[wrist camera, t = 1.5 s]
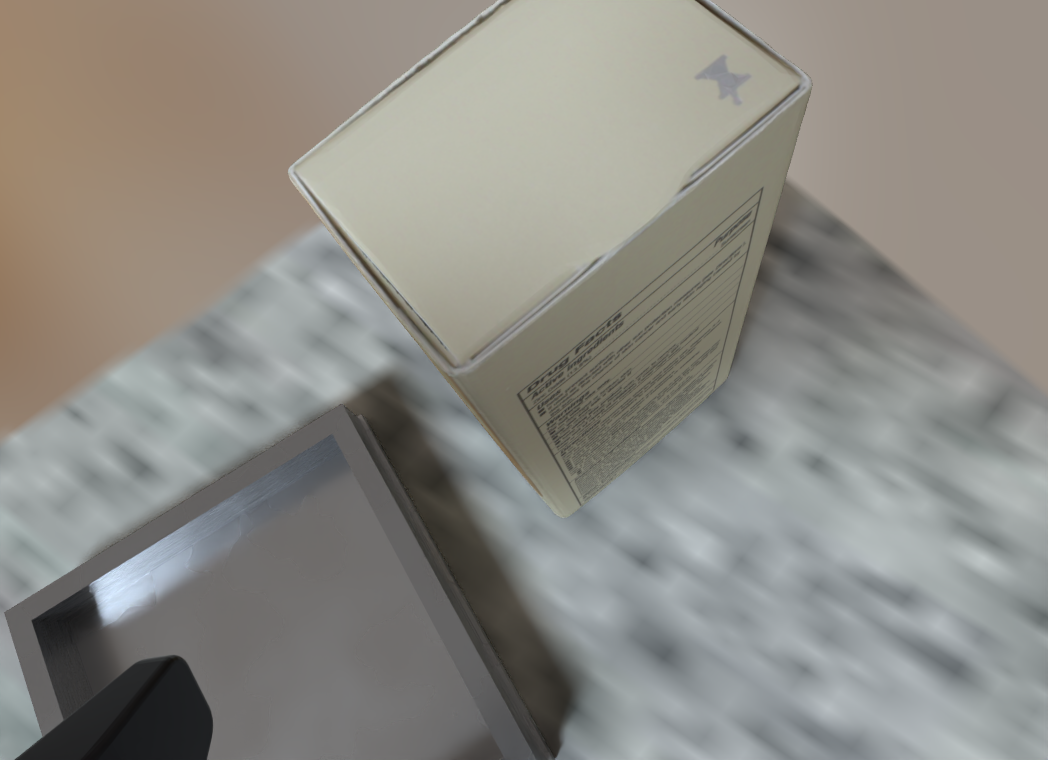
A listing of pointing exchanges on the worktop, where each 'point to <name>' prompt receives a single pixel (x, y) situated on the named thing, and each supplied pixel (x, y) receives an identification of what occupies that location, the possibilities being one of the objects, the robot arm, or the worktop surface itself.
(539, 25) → the skincare box
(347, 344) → the worktop surface
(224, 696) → the square gray open tray
